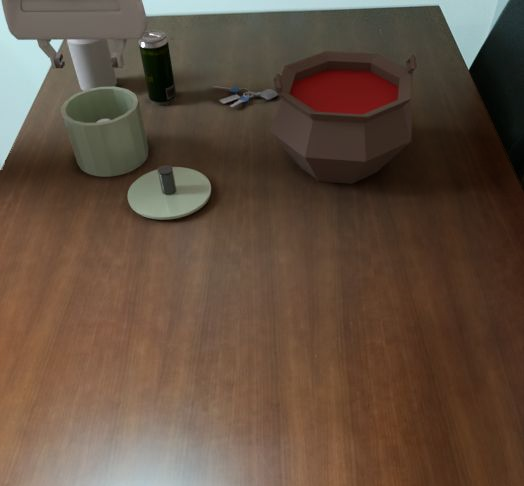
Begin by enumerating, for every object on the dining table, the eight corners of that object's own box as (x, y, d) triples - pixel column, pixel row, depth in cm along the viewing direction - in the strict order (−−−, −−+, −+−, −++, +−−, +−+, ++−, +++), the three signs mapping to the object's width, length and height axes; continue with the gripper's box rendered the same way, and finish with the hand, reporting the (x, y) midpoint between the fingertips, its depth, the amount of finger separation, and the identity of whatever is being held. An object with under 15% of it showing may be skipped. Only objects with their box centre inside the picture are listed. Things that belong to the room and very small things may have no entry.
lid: (121, 223, 91) (113, 195, 87) (136, 172, 100) (130, 146, 96) (207, 222, 91) (203, 195, 87) (215, 172, 99) (212, 145, 95)
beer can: (181, 95, 116) (172, 32, 107) (167, 108, 114) (156, 44, 104) (159, 90, 118) (148, 28, 109) (144, 103, 115) (131, 39, 106)
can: (74, 88, 120) (56, 27, 111) (105, 76, 123) (89, 14, 114) (93, 101, 116) (76, 38, 107) (124, 87, 119) (110, 25, 110)
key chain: (281, 91, 116) (281, 87, 115) (274, 112, 111) (274, 108, 110) (213, 87, 118) (212, 83, 117) (203, 108, 113) (202, 104, 112)
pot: (69, 177, 100) (52, 125, 93) (86, 137, 108) (71, 87, 101) (142, 176, 99) (130, 124, 92) (153, 136, 107) (143, 85, 100)
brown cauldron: (287, 213, 91) (287, 114, 79) (257, 134, 106) (252, 40, 94) (432, 189, 94) (454, 90, 81) (382, 115, 109) (394, 22, 96)
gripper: (142, -44, 82) (157, 57, 93) (0, -42, 83) (31, 58, 93) (134, -28, 78) (151, 75, 89) (-16, -26, 79) (19, 76, 89)
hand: (88, 66), depth 91 cm, fingers open, 8 cm apart
